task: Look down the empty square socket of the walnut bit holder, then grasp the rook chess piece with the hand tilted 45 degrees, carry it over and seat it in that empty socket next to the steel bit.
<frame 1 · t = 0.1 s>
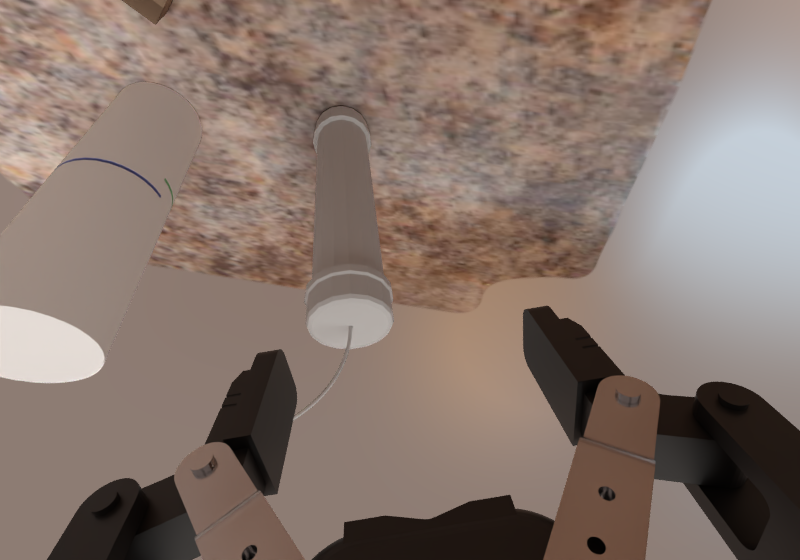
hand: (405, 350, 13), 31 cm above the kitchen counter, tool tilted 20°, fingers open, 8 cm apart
cylindrical container: (161, 120, 37), on the kitchen counter
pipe: (338, 129, 40), on the kitchen counter
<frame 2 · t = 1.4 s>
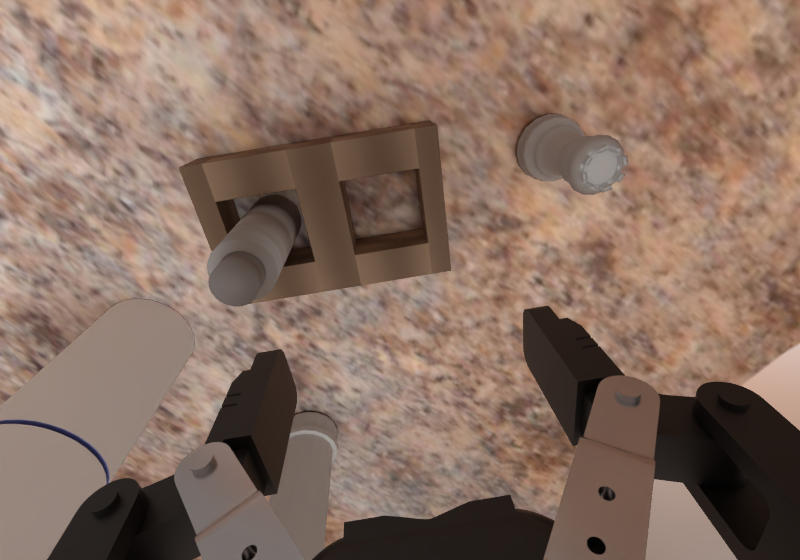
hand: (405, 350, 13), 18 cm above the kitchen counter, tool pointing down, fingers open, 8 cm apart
cylindrical container: (150, 335, 33), on the kitchen counter
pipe: (307, 426, 39), on the kitchen counter
holder: (330, 210, 29), on the kitchen counter
rook chess piece: (544, 146, 29), on the kitchen counter
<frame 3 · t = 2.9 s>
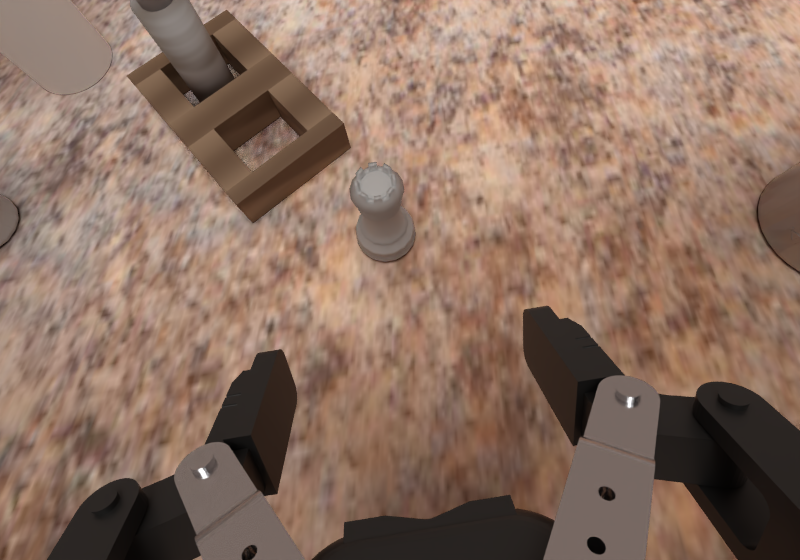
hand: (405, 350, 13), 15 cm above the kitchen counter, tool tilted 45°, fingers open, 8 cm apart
cylindrical container: (76, 65, 37), on the kitchen counter
holder: (246, 124, 34), on the kitchen counter
rook chess piece: (386, 237, 31), on the kitchen counter
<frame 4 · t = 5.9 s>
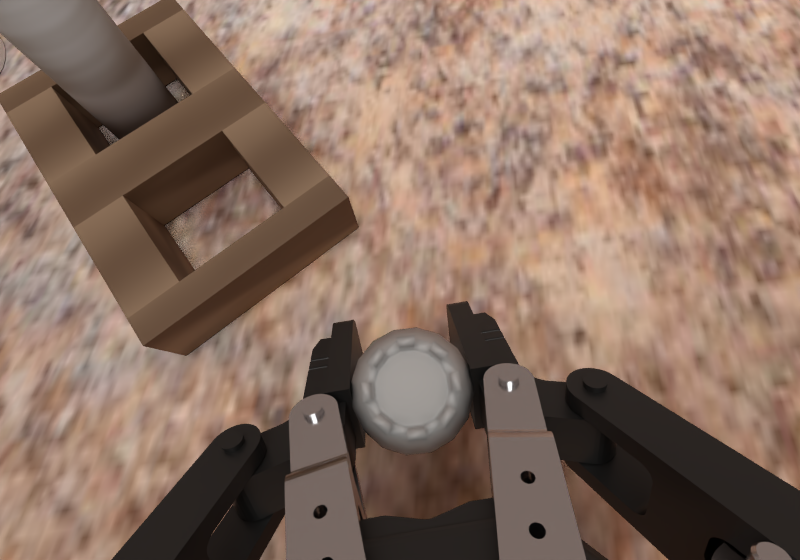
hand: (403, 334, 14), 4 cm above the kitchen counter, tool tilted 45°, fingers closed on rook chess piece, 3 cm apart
holder: (194, 178, 21), on the kitchen counter
rook chess piece: (414, 396, 17), on the kitchen counter, touching gripper
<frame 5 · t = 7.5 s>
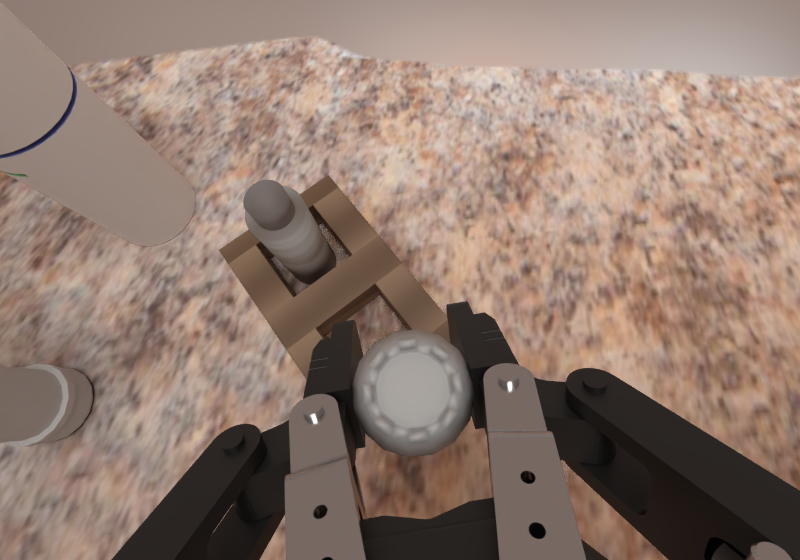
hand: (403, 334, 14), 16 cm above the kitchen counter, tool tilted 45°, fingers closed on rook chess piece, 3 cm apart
cylindrical container: (156, 209, 35), on the kitchen counter
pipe: (65, 399, 30), on the kitchen counter
holder: (342, 300, 31), on the kitchen counter
rook chess piece: (415, 397, 17), point 12 cm above the kitchen counter, touching gripper
when the fingers open (8 cm above the kitchen counter, at t = 9.6 s): rook chess piece drops 4 cm, resting in holder.
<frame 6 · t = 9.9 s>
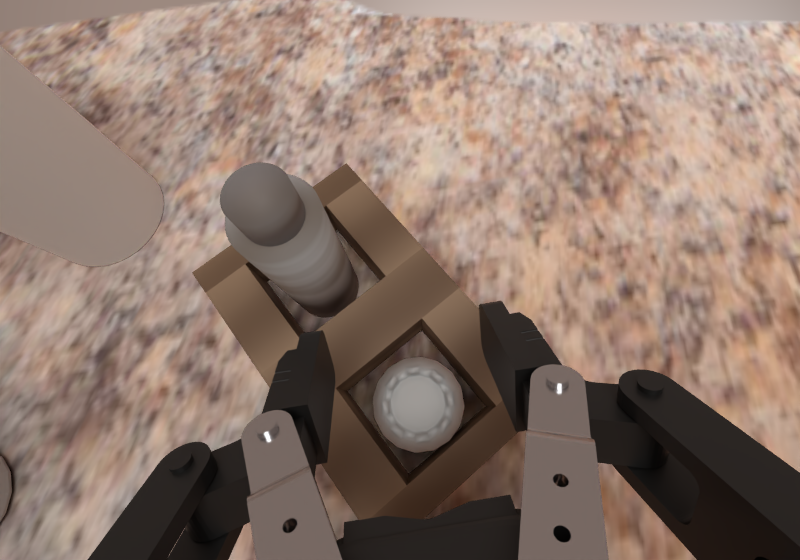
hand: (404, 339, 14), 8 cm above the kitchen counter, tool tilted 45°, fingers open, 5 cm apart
cylindrical container: (110, 215, 26), on the kitchen counter
holder: (369, 340, 22), on the kitchen counter
rook chess piece: (420, 401, 21), resting in holder
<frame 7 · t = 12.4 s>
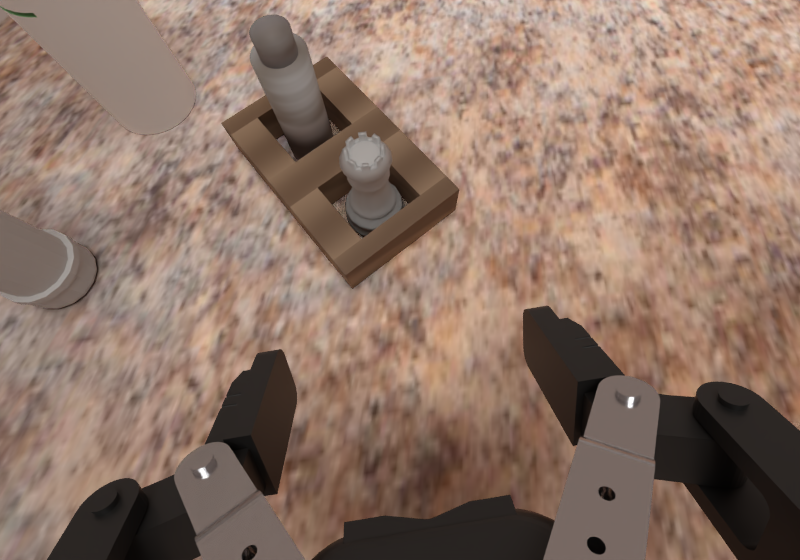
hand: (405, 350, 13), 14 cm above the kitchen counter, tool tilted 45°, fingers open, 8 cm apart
cylindrical container: (157, 102, 35), on the kitchen counter
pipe: (69, 272, 31), on the kitchen counter
holder: (342, 177, 32), on the kitchen counter
rook chess piece: (375, 214, 31), resting in holder
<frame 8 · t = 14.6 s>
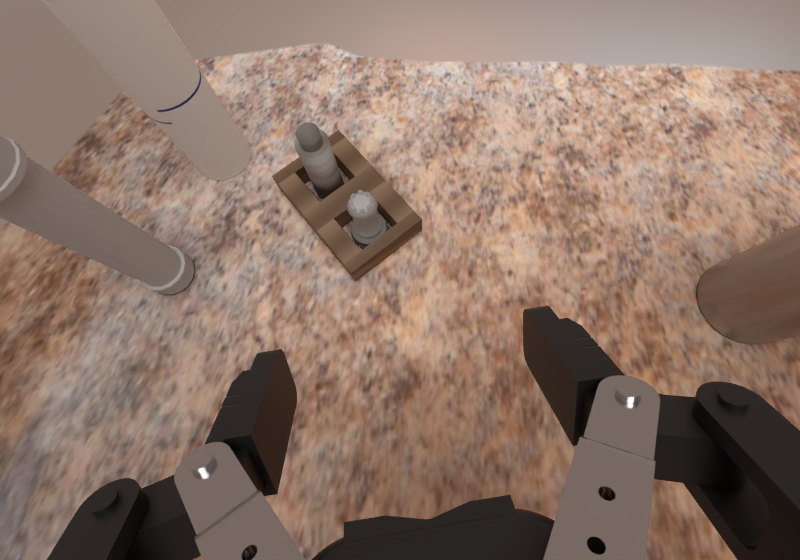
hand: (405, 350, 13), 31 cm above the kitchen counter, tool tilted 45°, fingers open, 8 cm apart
cylindrical container: (224, 157, 53), on the kitchen counter
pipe: (176, 272, 48), on the kitchen counter
holder: (349, 209, 49), on the kitchen counter
rook chess piece: (370, 233, 48), resting in holder
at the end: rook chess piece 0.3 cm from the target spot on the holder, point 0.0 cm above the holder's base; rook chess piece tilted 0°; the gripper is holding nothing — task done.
